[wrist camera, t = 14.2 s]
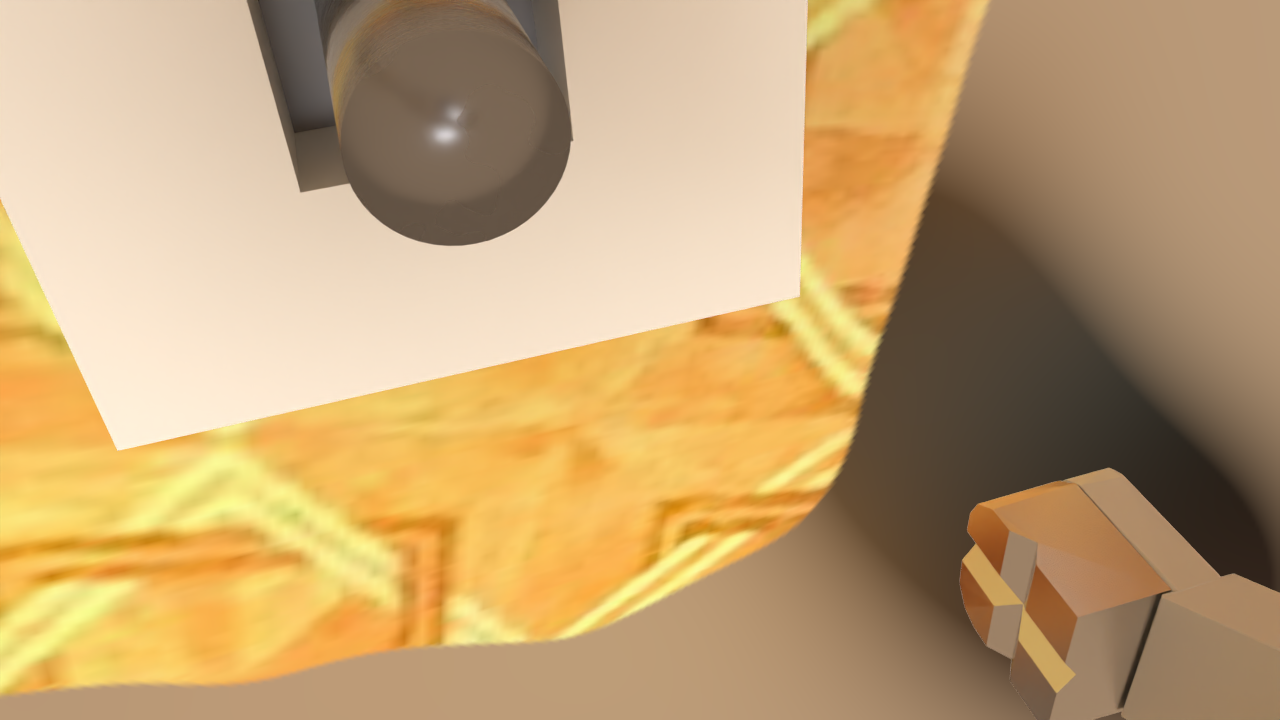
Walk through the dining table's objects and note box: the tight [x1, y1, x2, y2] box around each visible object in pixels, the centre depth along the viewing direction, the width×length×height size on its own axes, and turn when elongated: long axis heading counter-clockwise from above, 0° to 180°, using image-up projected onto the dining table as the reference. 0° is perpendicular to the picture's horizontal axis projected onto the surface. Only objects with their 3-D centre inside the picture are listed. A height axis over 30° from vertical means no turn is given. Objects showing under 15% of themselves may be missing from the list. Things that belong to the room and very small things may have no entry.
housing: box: [0, 0, 808, 451], centre depth 27 cm, size 20×20×4 cm
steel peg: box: [314, 0, 571, 246], centre depth 25 cm, size 4×4×10 cm
